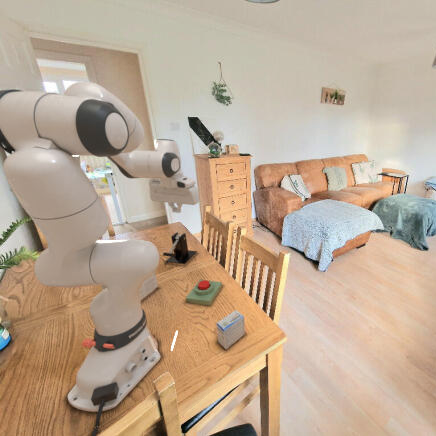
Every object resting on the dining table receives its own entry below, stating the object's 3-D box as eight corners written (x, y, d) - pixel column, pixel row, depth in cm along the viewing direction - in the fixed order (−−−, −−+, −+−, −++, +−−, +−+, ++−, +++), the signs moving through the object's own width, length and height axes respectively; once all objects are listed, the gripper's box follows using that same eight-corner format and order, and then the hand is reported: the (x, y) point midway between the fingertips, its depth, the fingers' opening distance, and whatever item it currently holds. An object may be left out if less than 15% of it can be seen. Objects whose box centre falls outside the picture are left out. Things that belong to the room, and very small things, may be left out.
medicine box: (237, 327, 84) (235, 309, 81) (245, 335, 82) (244, 315, 78) (217, 342, 78) (215, 322, 75) (226, 350, 76) (224, 330, 73)
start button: (206, 291, 96) (206, 287, 95) (196, 289, 96) (196, 286, 96) (211, 284, 100) (211, 280, 99) (201, 282, 100) (201, 279, 100)
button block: (209, 305, 93) (209, 297, 92) (186, 302, 95) (184, 294, 93) (222, 286, 104) (221, 278, 103) (200, 283, 106) (199, 276, 104)
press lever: (175, 258, 112) (173, 255, 110) (164, 256, 113) (162, 254, 111) (186, 237, 120) (184, 234, 118) (176, 236, 121) (174, 233, 119)
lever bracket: (184, 266, 117) (181, 241, 112) (166, 263, 118) (161, 239, 113) (197, 253, 128) (194, 230, 123) (179, 251, 129) (176, 228, 124)
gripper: (142, 180, 95) (149, 212, 100) (190, 184, 92) (195, 217, 98) (153, 176, 101) (159, 207, 106) (199, 180, 98) (202, 211, 104)
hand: (176, 212), depth 102 cm, fingers closed
